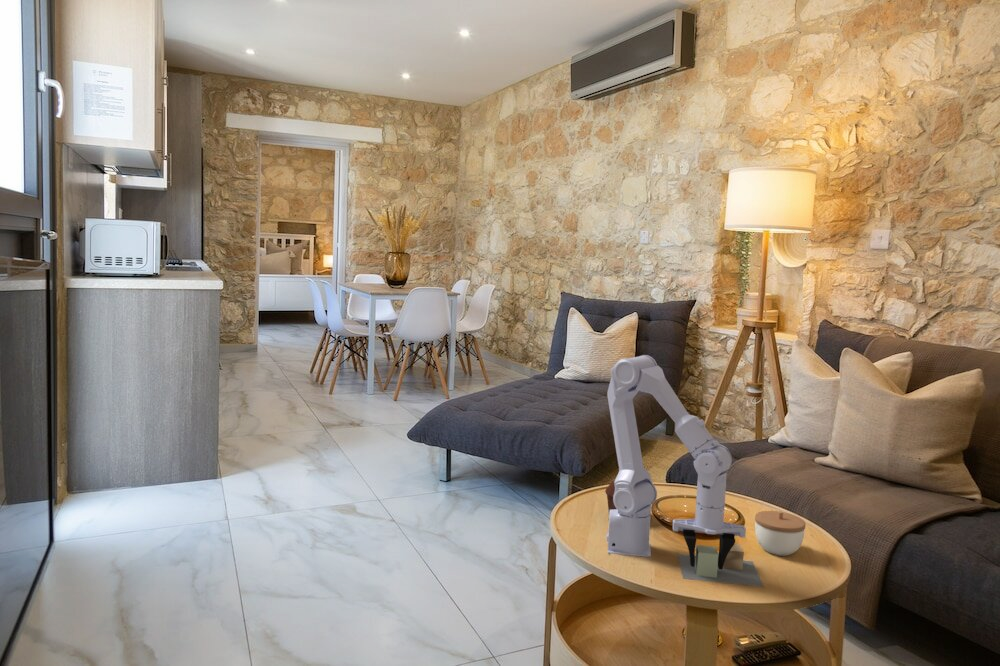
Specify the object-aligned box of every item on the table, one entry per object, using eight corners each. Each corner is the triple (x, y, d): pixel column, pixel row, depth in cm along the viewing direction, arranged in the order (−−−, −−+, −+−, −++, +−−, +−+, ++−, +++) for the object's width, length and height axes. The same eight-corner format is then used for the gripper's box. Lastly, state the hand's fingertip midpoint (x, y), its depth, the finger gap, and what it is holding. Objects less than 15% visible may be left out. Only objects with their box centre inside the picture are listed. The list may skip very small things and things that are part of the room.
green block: (696, 575, 145) (698, 552, 144) (694, 567, 149) (696, 544, 148) (716, 577, 144) (718, 554, 144) (714, 569, 148) (715, 546, 148)
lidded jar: (772, 563, 153) (775, 522, 152) (743, 543, 163) (746, 505, 162) (813, 559, 156) (816, 519, 155) (782, 540, 166) (785, 502, 165)
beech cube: (723, 568, 149) (724, 550, 148) (720, 560, 153) (721, 542, 152) (742, 569, 148) (743, 552, 148) (739, 562, 152) (740, 544, 152)
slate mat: (683, 580, 143) (683, 578, 143) (677, 555, 155) (677, 554, 155) (763, 588, 141) (764, 586, 141) (752, 563, 153) (752, 561, 153)
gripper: (676, 507, 142) (672, 570, 144) (750, 513, 140) (745, 578, 141) (673, 495, 149) (669, 556, 151) (743, 501, 147) (739, 563, 148)
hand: (706, 565), depth 146 cm, fingers open, 5 cm apart
